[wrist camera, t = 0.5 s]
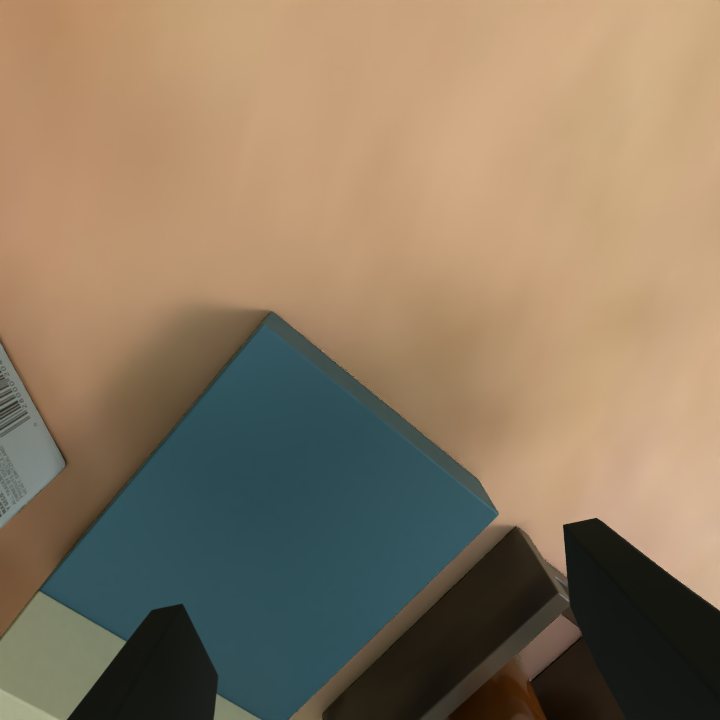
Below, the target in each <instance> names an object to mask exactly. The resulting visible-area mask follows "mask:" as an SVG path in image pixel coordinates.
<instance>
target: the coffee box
mask: <svg viewBox="0 0 720 720" xmlns="http://www.w3.org/2000/svg"><path fill="white" fill-rule="evenodd" d="M64 468H65V461H64V459H63V457H62V455H61V453H60V451H59V449H58V448H57V446H56V444H55V442H54V440H53V439H52V437H51V435H50V433H49V431H48V429H47V427H46V426H45V424H44V422H43V420H42V418H41V416H40V415H39V413H38V411H37V409H36V407H35V405H34V404H33V402H32V400H31V398H30V396H29V394H28V392H27V391H26V389H25V387H24V385H23V383H22V381H21V380H20V378H19V376H18V374H17V372H16V371H15V369H14V367H13V365H12V363H11V362H10V360H9V358H8V356H7V354H6V353H5V351H4V349H3V347H2V345H1V343H0V528H2V527H3V526H4V525H5V524H6V523H7V522H8V521H9V520H10V519H11V518H12V517H13V516H15V515H16V514H17V513H19V512H20V510H21V509H23V507H24V506H25V505H26V504H27V503H28V502H29V501H31V500H32V499H33V498H34V497H35V496H36V495H37V494H38V493H39V492H40V491H41V490H42V489H43V488H44V487H45V486H47V485H48V484H49V483H50V482H51V481H52V480H53V479H54V478H55V477H56V476H57V475H58V474H59V473H60V472H61V471H62V470H63V469H64Z"/></svg>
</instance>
